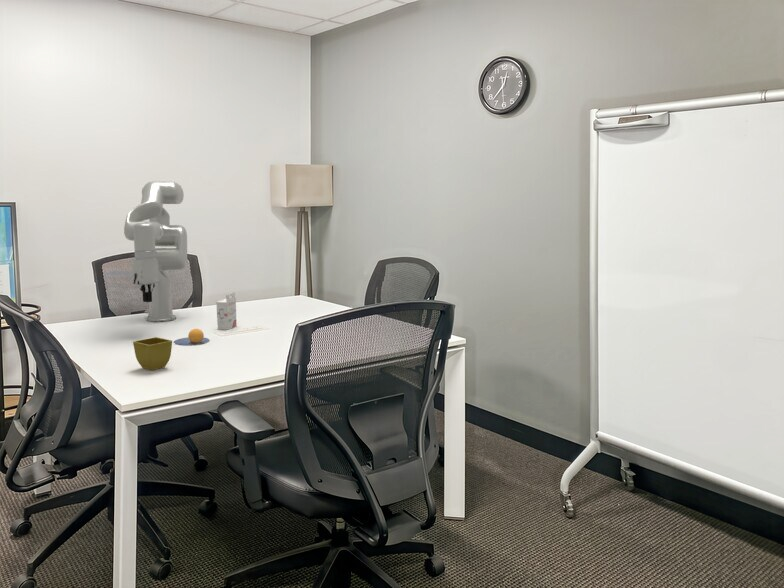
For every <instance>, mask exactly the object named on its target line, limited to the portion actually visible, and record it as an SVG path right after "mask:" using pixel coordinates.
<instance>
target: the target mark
mask: <svg viewBox="0 0 784 588" xmlns="http://www.w3.org/2000/svg"><path fill="white" fill-rule="evenodd" d="M209 342H210V339H209V338H207V337H204V338H203V340H202V341H201V342H199V343H192V342H191V341H190V340H189V337H181V338H178V339H175V340H173V344H174V343H175V344H174V345H177V344H178V345H179V346H197V345H204V344H206V343H209Z"/></svg>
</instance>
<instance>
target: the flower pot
mask: <svg viewBox="0 0 784 588" xmlns="http://www.w3.org/2000/svg"><path fill="white" fill-rule="evenodd" d="M132 345H133V349H134V354H135V358H136V360H137V362H138V364H139V365H140V367H141V368H142V369H145V370H147V371H148V370H149V371H156V370H159V369H164V368H165V367H166V366H167V365H168V364H169V361H170V360H171V359H170V358H171V355H172V349H173V348H172V347H173V340H171V339H167V338H162V337H158V336H157V337H149V338H144V339H139V340H134V341H132Z"/></svg>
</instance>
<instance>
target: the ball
mask: <svg viewBox="0 0 784 588" xmlns="http://www.w3.org/2000/svg"><path fill="white" fill-rule="evenodd" d="M188 337H189V340H190V341H191V342H192V343H199V342H201V341H202V340H203V338H205V335H204V332H203V330H201V329H199V328H193V329H191V330H190V331H189V332H188ZM188 337H187V338H188Z"/></svg>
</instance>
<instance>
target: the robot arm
mask: <svg viewBox="0 0 784 588" xmlns="http://www.w3.org/2000/svg"><path fill="white" fill-rule="evenodd" d="M182 187H183V186H181V185H180V184H179V183H178V182H175V181H160V180H159V181H158V180H157V181H156V180H154V181H153V180H152V181H149V182H147V183H146V184H145V185H144V186H143V187H142V189H141V201H140V204H138V205H136V206H135V207H134V208H132V209H131V210H129V212H128V213H127V214H126V217H125V222H124V226H123V235H124V237H125V238H126V240H129V241H133V246H134V259H132V266H131V282H132V285H134V288H135V289H139V290H140V292H142V303H143V302H144V303H148V304H149V305H148V306H149V308H147V309H146V310H145V311H144V313H145V314H146V315H147V316H146V321H147V320H148V322H152V321H157V323H159V322H161V321H163V322H171V321H175V320H176V319H177V315H175V314H173V293H172V279H171V277H170V276H169V274H168V273H167V271H179V270H181V271H182V270H185V269H186V268H187V265H188V232H187V229H186V227H185V226H183V225H179V224H171V225H170V220H171V217H170V213H169V212H168V211H167V210H166V209H165V208H164V207H163V206H164V205H180V204H181V203H182V202H184V201H183V200H184V189H183V188H182ZM147 220H149V221H147ZM159 247H161V248H159ZM163 247H165V248H163ZM167 247H168V248H167ZM169 247H171V248H169ZM174 319H175V320H174Z"/></svg>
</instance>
